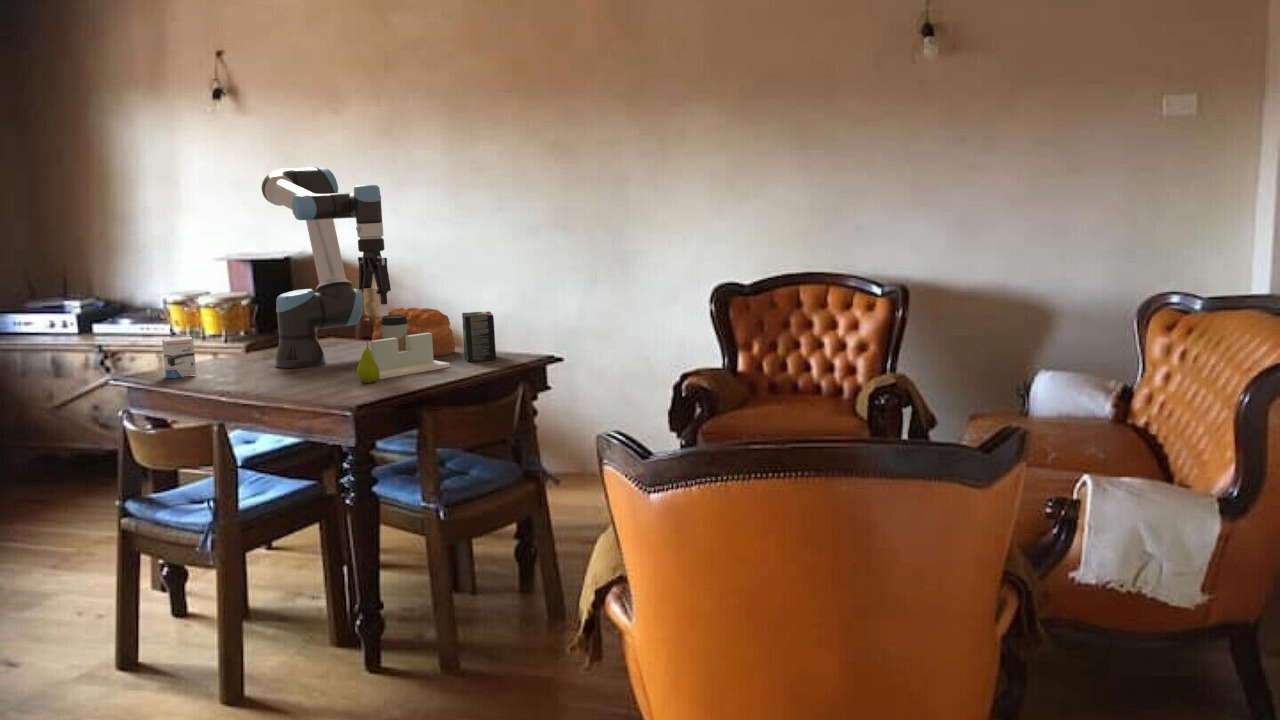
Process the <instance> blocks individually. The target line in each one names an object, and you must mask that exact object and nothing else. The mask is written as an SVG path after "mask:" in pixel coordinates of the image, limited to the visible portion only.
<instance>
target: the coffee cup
mask: <svg viewBox="0 0 1280 720" xmlns="http://www.w3.org/2000/svg"><path fill="white" fill-rule="evenodd" d="M407 323H408V322H407V319H406V316H405V315H389V316H383V317H382V320H381V326H382V333H383V339H387V338H398V349H399V351H406V338H405V336H407Z"/></svg>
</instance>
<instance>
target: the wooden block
mask: <svg viewBox="0 0 1280 720" xmlns="http://www.w3.org/2000/svg"><path fill="white" fill-rule="evenodd" d="M377 292H378V288H377V287H371V288H365V289H364V294H363V302H364V301H365V307H364V314H365V313H366V314H365V316H369V317H370V316H371V317H376V318H377V317H381V316H379V311H378V298H377ZM384 316H388V315H384Z"/></svg>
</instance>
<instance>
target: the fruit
mask: <svg viewBox="0 0 1280 720" xmlns="http://www.w3.org/2000/svg"><path fill="white" fill-rule="evenodd" d="M379 375H380V373H379V368H378V366H377V364H376V363H375V362H374V359H373V357H372V353H371V348H370V347H369V342H368V340H367V341H366V347H365V349H364V351H363V353H362V354H361V357H360V361H359V363H358V365H357V366H356V376H357V378H358V379H359V380H360V381H361V382H362V383H364V384H372V383H374V382H376V381H377V380H378V379H379Z"/></svg>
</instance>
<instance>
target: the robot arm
mask: <svg viewBox="0 0 1280 720" xmlns="http://www.w3.org/2000/svg"><path fill="white" fill-rule="evenodd" d="M380 190H381V189H380V186H379V185H377V184H367V185H366V184H365V185H364V184H363V185H355V186H354V188H353V192H351V191H349V192H339V184H338V181H337V179H336V177H335V175H334V173H333V172H332V171H331V170H330V169H329V168H327V167H317V166H314V167H293V168H288V167H287V168H286V167H284V168H279V169H275V170H274V171H271V172H269V173H268V174H267V175H266V176H265V177H264V179H263V180H262V183H261V192H262V195H263V197H264V199H265V200H266V201H267V202H269V203H270V204H272V205H274V206H281V207H282V206H283V207H285V208H287V209H289V210H292V214H293V216H294V218H295V219H296V220H298V221H305V222H306V227H307V232H308V237H309V240H310V247H311V252H312V255H313V261H314V266H315V270H316V273H317V274H316V275H317V278H318V285H317V286H316V288H315V291H314V289H312V288H305V289H303V288H302V289H296V290H295V289H294V290H292V291H287V292H284V293H281V294H280V295H278V296H277V298H276V301H275V302H276V303H275V304H276V307H275V312H276V317H277V318H276V319H277V329H278V346H277V350H276V355H275V357H274V361H275V363H274V364H275V367H277V368H284V369H285V368H287V369H288V368H289V369H291V368H292V369H296V368H307V367H308V368H309V367H315V366H319V365H322V364H324V363H325V362H326V360H325V359H326V358H325V357H326V356H325V353H324V351H323V348H322V346H321V343H320V341H319V339H318V330H323V329H325V330H326V329H331V328H333V329H334V328H341V327H342V328H346V327H348V326H349V327H350V326H354V325H357V324H358V323H359V322H360V320H361V317H362V313H363V308H365V301H364V300H363V297H362V293H363V295H364V289H365V288H372V285H373V278H374V281H375V285H376V288H378V292H377V298H378V311H379V316H384V315H388V309H389V307H388V293H389V292H391V283H390V277H389V275H390V274H389V270H388V258H387V257H382V254H381V252H382V251H384V250H385V239H384V238H383V237H384V223H383V213H382V212H383V210H382V195H381V191H380ZM335 219H338V220H339V219H355V223H356V228H355V230H356V231H357V232H356V233H357V237H358V239H357V246H358V247H357V248H358V249H357V250H358V252H360V253H363V254H362V256H358V257H357V262H358V289H356V288H354V287H353V283H352V281H350V280H348V279H347V278H346V272H345V269H344V264H343V259H342V253H341V248H340V244H339V240H338V234H337V230H336V225H335V221H334V220H335ZM360 290H361V291H360ZM361 292H362V293H361ZM363 306H364V307H363ZM364 314H365V315H366V313H365V312H364Z"/></svg>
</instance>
